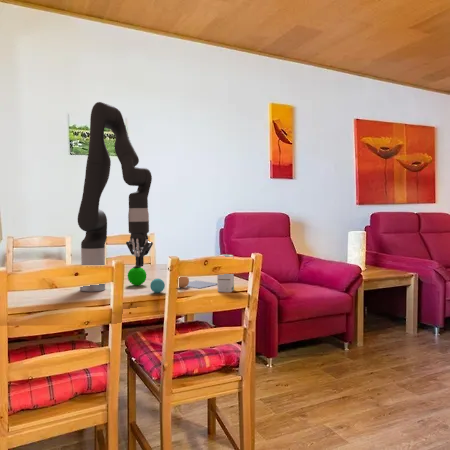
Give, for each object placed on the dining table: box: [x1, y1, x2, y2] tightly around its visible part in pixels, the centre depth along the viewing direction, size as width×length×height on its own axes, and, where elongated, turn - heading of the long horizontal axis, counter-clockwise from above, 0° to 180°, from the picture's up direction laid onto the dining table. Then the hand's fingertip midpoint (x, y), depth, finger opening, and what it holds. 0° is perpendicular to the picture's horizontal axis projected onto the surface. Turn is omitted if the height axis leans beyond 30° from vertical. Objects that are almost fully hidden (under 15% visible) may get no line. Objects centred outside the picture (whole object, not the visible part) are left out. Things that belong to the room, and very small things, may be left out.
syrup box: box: [217, 254, 235, 293], centre depth 169 cm, size 6×6×14 cm
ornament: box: [127, 262, 147, 287], centre depth 182 cm, size 8×8×10 cm
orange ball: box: [178, 276, 190, 289], centre depth 176 cm, size 6×6×6 cm
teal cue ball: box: [149, 278, 166, 294], centre depth 165 cm, size 6×6×6 cm
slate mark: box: [186, 280, 218, 289], centre depth 184 cm, size 14×14×1 cm
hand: (139, 266), depth 158 cm, fingers closed
